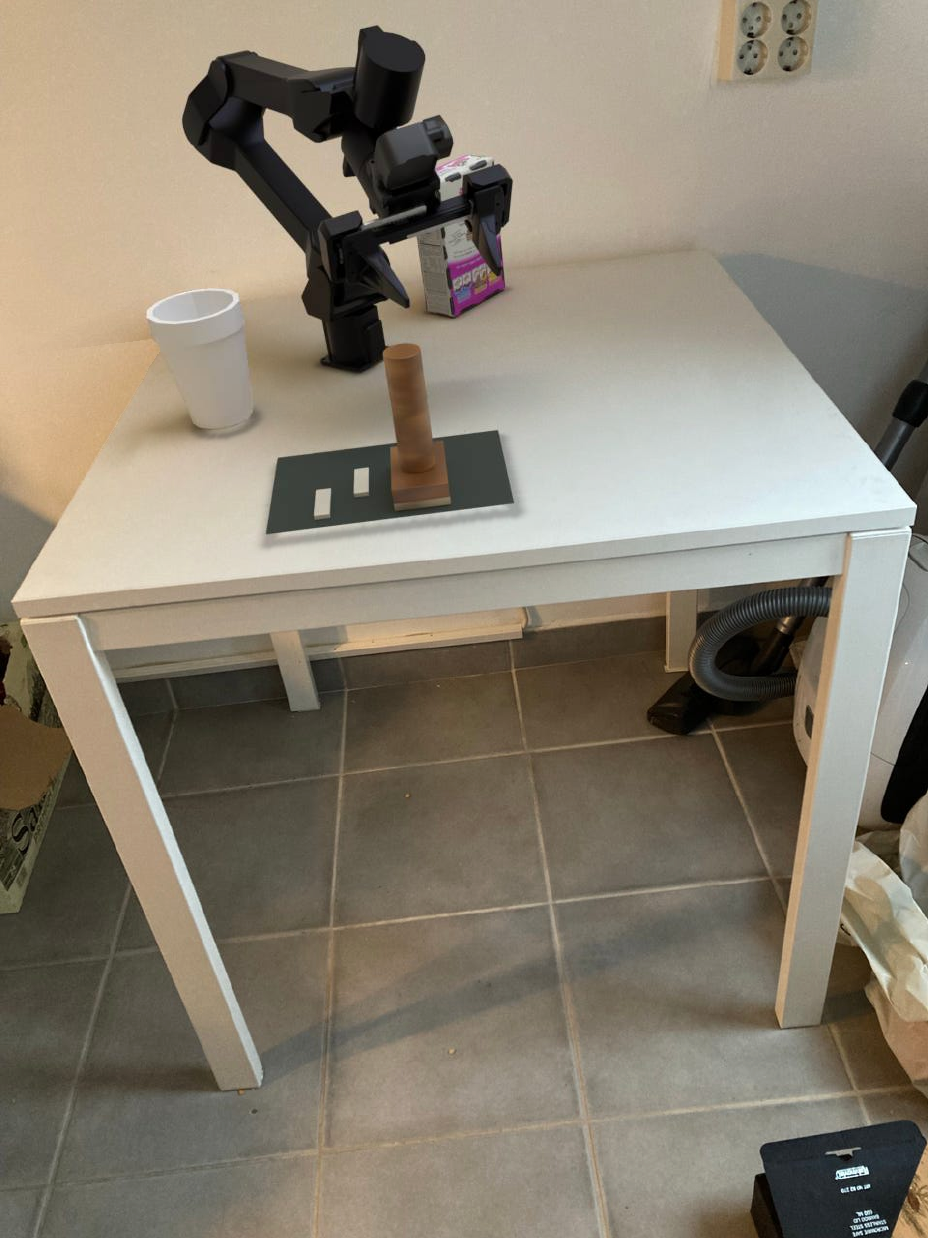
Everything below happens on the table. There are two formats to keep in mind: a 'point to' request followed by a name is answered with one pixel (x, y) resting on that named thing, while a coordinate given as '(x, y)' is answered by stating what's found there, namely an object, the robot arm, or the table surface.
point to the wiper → (413, 434)
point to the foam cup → (205, 354)
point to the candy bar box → (456, 252)
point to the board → (383, 483)
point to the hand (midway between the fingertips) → (454, 288)
